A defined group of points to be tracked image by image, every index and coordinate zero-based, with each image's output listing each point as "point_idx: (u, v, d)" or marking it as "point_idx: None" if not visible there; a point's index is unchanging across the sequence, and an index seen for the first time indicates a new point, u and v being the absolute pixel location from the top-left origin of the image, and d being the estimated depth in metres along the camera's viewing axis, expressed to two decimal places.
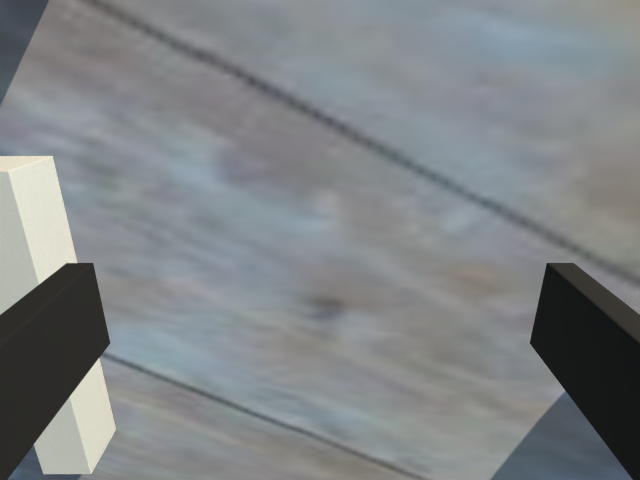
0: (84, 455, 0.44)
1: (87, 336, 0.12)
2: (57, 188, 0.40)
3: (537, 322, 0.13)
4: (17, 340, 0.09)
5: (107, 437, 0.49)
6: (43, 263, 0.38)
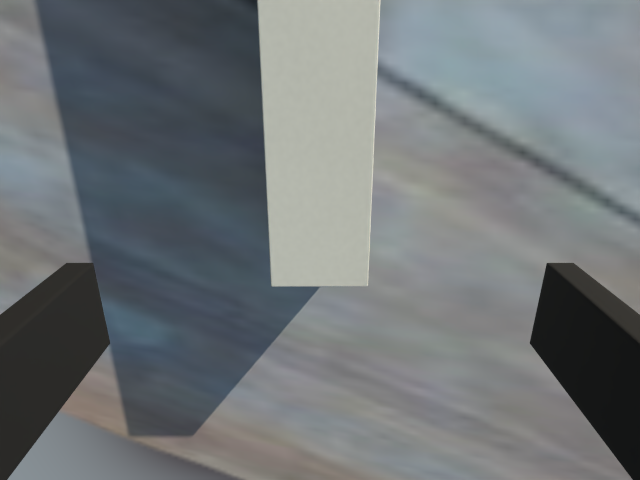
0: (368, 238, 0.22)
1: (87, 336, 0.12)
2: None
3: (537, 322, 0.13)
4: (17, 340, 0.09)
5: None
6: None
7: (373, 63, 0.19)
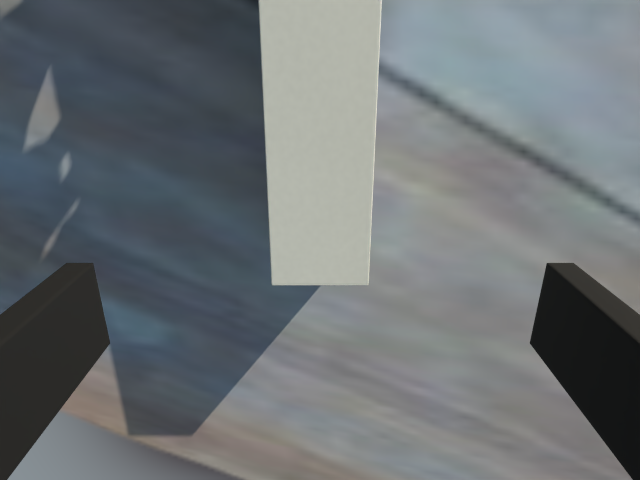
0: (368, 237, 0.21)
1: (87, 336, 0.12)
2: None
3: (537, 322, 0.13)
4: (17, 340, 0.09)
5: None
6: None
7: (374, 61, 0.18)
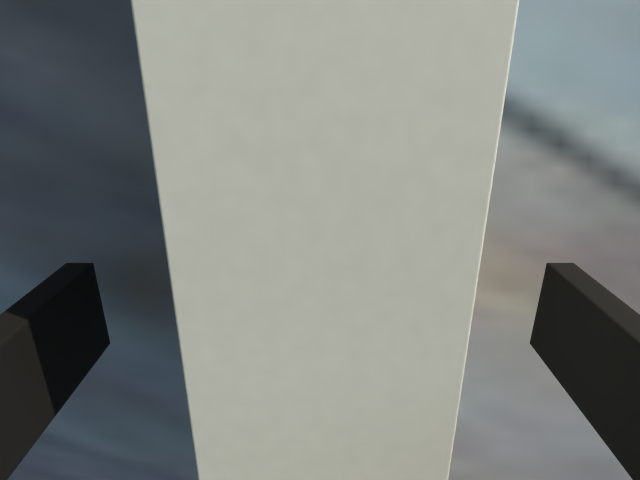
0: None
1: (87, 336, 0.12)
2: None
3: (537, 322, 0.13)
4: (17, 340, 0.09)
5: None
6: None
7: (498, 58, 0.06)
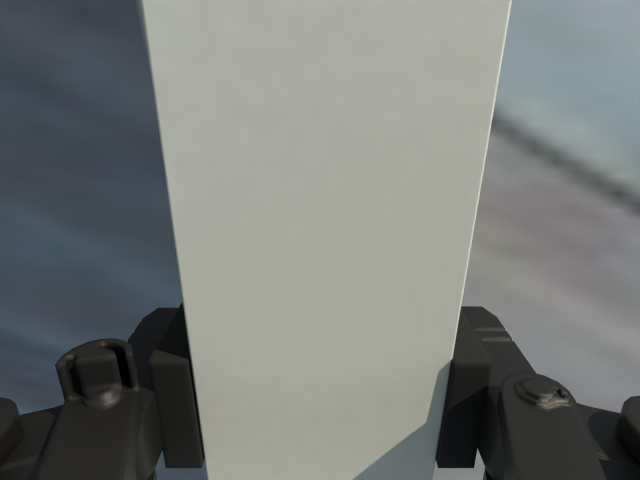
0: (434, 447, 0.09)
1: None
2: None
3: None
4: None
5: None
6: None
7: (495, 26, 0.06)
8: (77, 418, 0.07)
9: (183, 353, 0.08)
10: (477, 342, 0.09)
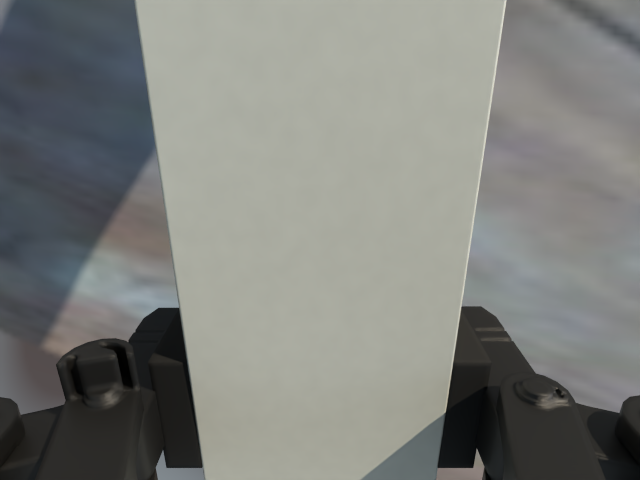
0: (436, 452, 0.09)
1: None
2: None
3: None
4: None
5: None
6: None
7: (491, 20, 0.06)
8: (78, 418, 0.07)
9: (184, 353, 0.08)
10: (477, 342, 0.09)
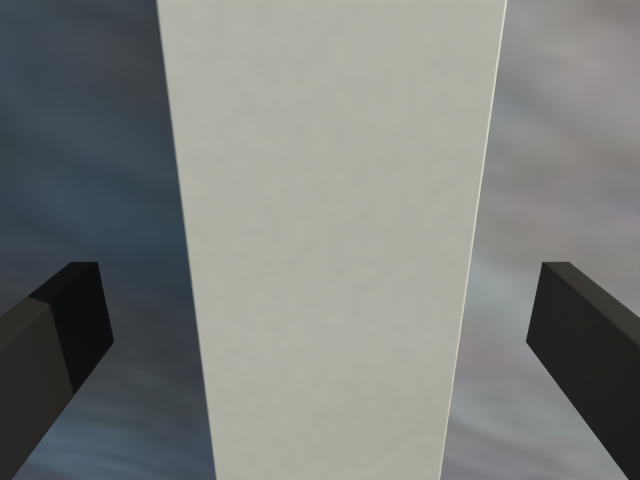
0: (440, 444, 0.09)
1: (91, 334, 0.12)
2: None
3: (532, 320, 0.13)
4: (23, 338, 0.09)
5: None
6: None
7: (492, 26, 0.06)
8: None
9: None
10: None
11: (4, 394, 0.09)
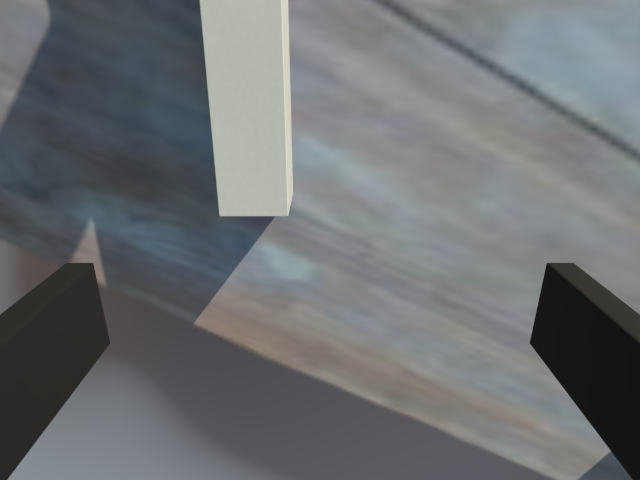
0: (285, 180, 0.31)
1: (87, 336, 0.12)
2: None
3: (536, 321, 0.13)
4: (17, 340, 0.09)
5: (291, 191, 0.35)
6: None
7: (280, 56, 0.28)
8: None
9: None
10: None
11: None
